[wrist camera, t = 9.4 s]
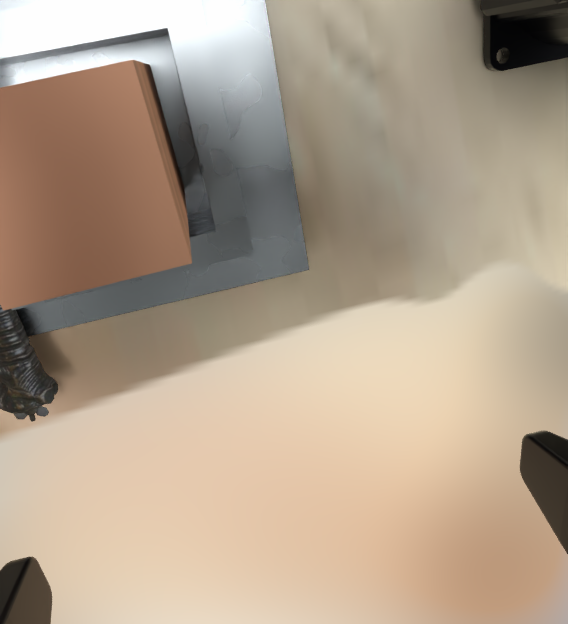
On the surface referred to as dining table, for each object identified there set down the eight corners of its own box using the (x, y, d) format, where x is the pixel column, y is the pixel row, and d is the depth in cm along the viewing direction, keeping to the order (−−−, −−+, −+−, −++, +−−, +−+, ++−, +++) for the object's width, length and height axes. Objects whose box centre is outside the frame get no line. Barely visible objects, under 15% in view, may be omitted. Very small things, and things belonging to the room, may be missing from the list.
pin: (149, 64, 16) (132, 59, 9) (184, 188, 18) (192, 263, 11) (22, 92, 16) (-97, 108, 9) (70, 215, 18) (3, 310, 11)
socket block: (243, -101, 16) (263, -147, 12) (304, 263, 21) (329, 299, 18) (-170, -33, 15) (-273, -64, 11) (3, 333, 20) (-31, 387, 17)
